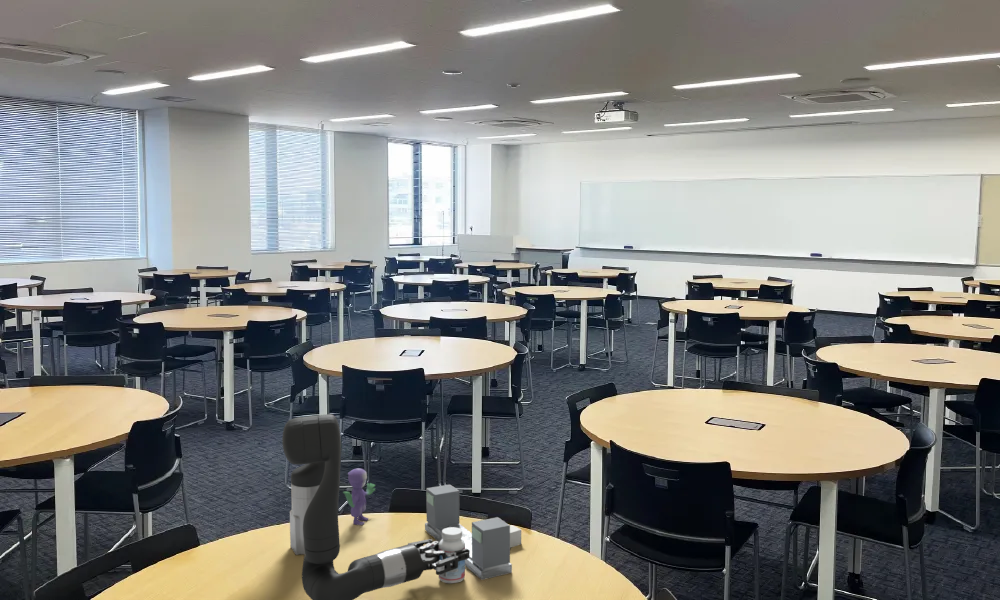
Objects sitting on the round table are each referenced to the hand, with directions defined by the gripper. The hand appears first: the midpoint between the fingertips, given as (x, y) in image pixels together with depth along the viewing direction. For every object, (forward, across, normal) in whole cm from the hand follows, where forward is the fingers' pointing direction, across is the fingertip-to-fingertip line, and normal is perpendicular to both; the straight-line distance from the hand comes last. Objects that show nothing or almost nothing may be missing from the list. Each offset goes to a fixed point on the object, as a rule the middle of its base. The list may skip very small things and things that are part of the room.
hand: (460, 548), depth 171 cm
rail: (+9, +12, +7) cm, 17 cm away
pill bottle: (-2, 0, +7) cm, 7 cm away
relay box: (+20, +9, +7) cm, 23 cm away
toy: (-4, +46, +8) cm, 47 cm away
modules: (+9, +12, +4) cm, 16 cm away
